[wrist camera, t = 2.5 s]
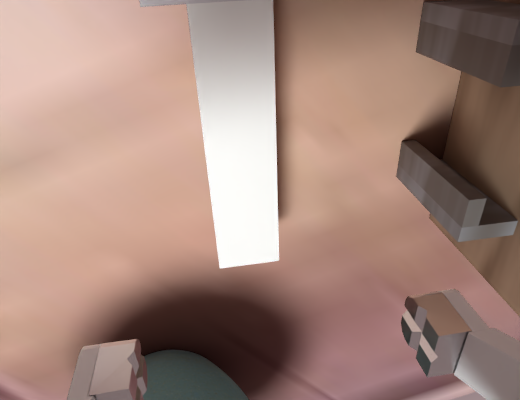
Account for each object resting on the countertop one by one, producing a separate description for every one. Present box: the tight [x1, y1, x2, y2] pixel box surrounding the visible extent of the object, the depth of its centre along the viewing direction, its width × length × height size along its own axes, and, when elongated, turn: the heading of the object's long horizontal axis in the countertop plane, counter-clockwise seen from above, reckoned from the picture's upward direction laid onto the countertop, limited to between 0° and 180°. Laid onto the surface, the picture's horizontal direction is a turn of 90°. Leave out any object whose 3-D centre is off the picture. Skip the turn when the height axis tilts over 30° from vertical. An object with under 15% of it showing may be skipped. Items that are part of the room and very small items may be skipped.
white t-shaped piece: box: [139, 0, 279, 268], centre depth 23 cm, size 17×8×6 cm, turn 3°
